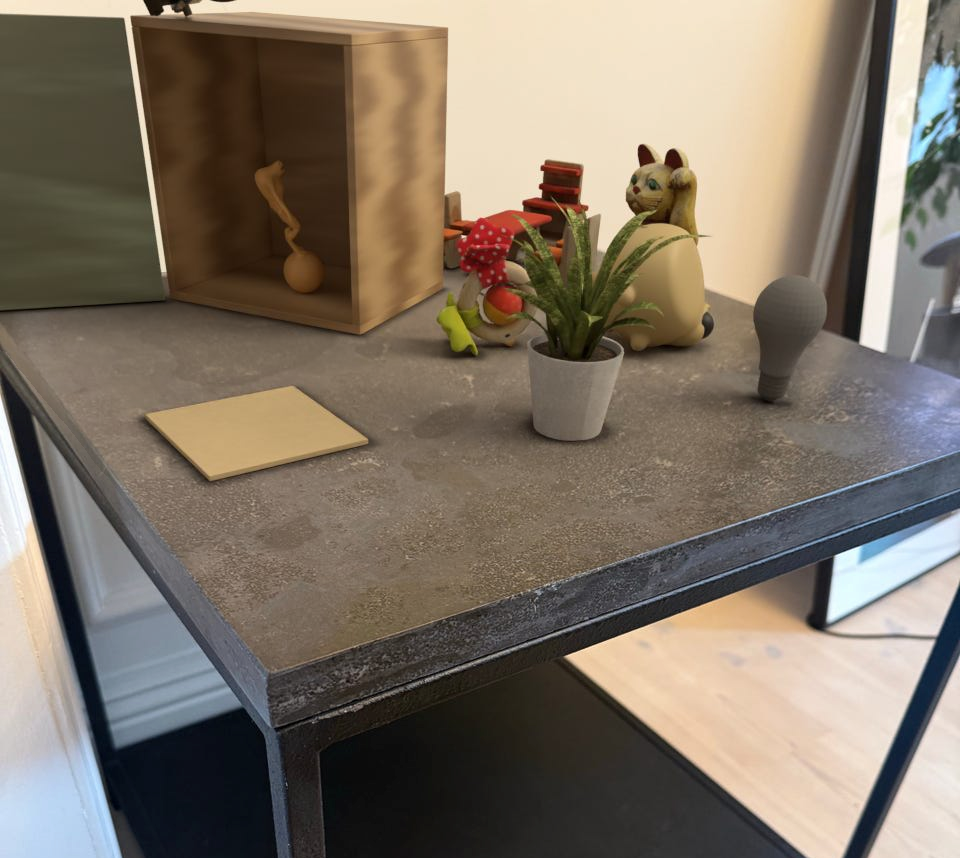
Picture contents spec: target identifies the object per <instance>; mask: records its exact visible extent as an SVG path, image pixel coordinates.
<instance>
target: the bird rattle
mask: <svg viewBox="0 0 960 858" xmlns="http://www.w3.org/2000/svg"><path fill="white" fill-rule="evenodd" d="M484 218H485V217H479V218H478V219H477V220H475V221H476V222H475V224H474V226H473V228H472V231H471V233H470V234H469V235H468V236H464V237H462V239H459V240H458V241H457V246H456V248H457V251H458V253H459V254H460V256H461V257H462V258H461V261H460V266H459V267H460V270H461V271H462V272H464V273H467V274H468V275H467V277H466V278H465V280H464V282H463V283H462V286H461V288H460V289H459V293H458V298H457V301H456V302H455V298H454V293H453V292H452V291H450V292H449V293H448V294H447V298H446V301H445V305H446V306H445V307H444V308H443V309H441V311H440V312H439V314H438V315H437V317H436V322H437V323H438V325H440V326H441V329H442V331H444V332H445V333H446V336H447V337H448V339H449V342H450V348H451V350H452V351H453V352H455V353H460V352H462V351H464V350H465V349H466V348H467V347H468V349H469V350H470V352H471V353H472V355H473V356H474V357H477V356H478V353H479V350H478V348H477V346H476V344H475V342H474V340H473V338H472V336H471V334H472V335H474V336H475V337H477V338H479V339H481V340H484V341H487V342H491V343H493V342H494V343H502V344H504V345H505V346H508V347H512V346H513V345H514V344H515V341H516V339H517V337H518V336H519V335H521V334H522V333H523V332H524V331H525V330H526V329H527V328H528V326H529V325H530V324H531V322H532V321H531V320H527V319H522V318H512V317H510V318H508V317H509V316H510V315H512V314H514V313H516V312H525V313H527V314H529V315H531V316H532V317H533V318H535V315H536V312H537V309H538V308H537V307H535V306H533V305H531V304H530V303H528V302H527V301H525V300H524V299H523V298H521V297H520V296H518V295H516V294H513V293H510V292H508V291H507V290H505V289H504V288H509V289H516V290H517V288H518V287H517V284H523V283H525V282H528V281H530V279H529V277H528V275H527V272H526V269H525V267H522V266H521V265H520V264H518V263H516V262H515V261H511V260H506V256H507V255H508V253H509V249H510V246H511V244H512V241H513V240H512V239H513V238H514V232H513V231H512V230H511V229H510V228H508V227H496V226H494V225H492V224H491V223H490V222H488V221H487V220H486V219H484ZM502 235H504V236H502ZM505 236H507V237H505ZM508 237H509V238H508ZM510 238H512V239H510ZM470 272H471V273H470ZM486 289H487V290H486ZM482 290H486V292H485V293H483V292H482ZM518 290H521V291H524V292H527V293H530V294H532V295H535V296H537V294H536V291H535V289H534V288H532V287H530V286H528V285H525V284H523V285H521V286H520V287H519V288H518ZM479 295H480V296H482V297H483V300H482V312H483V314H484V316H485V317H486V319H487V320H488V321H489V322H488V321H486V320H484V318H483V317H482V315H481V313H480V304H479V301H478V300H477V299H478V296H479ZM537 297H538V296H537ZM507 318H508V319H507ZM470 333H471V334H470Z"/></svg>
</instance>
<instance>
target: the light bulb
mask: <svg viewBox="0 0 960 858" xmlns="http://www.w3.org/2000/svg"><path fill="white" fill-rule="evenodd" d="M825 295H826V294H825V293H824V292H823V290H822V288H821V287H820V286H819V284H817V283H816V282H815V281H814V280H813V279H811V278H809V277H807V276H803V275H798V274H793V275H791V274H790V275H785V276H782V277H778V278H776V279H775V280H772V281H771V282H770V283H769V284H767V285H766V286H765V287H764V289H762V291H761V292H760V293H759V295H758V296H757V298H756V301H755V303H754V306H753V312H752V313H753V314H752V315H753V318H752V319H753V320H752V321H753V325H754V329H755V333H756V336H757V339H758V344H759V363H758V364H759V365H758V370H759V372H760V373H759V377H758V382H757V384H758V385H757V389H756V391H757V393H758V394H759V395H760V397H762V398H763V400H765V401H766V402H775V401H776V400H777V399H778V400H779V399H781V398H784V396H785V395H786V392H787V390H788V387H789V382H790V381H791V380H790V379H791V376H793V375H794V373H795V371H796V368H797V365H798V362H799V361H800V358H801V356H802V354H803V353H804V351H805V350H806V349H807V347H808V346H809V345H810V344H811V343H812V342H813V340H814V339H816V337H817V336H818V334H819V333H820V332H821V331H822V329H823V327H824V325H825V323H826V319H827V316H828V304H827V299H826V296H825Z"/></svg>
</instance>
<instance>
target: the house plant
mask: <svg viewBox="0 0 960 858" xmlns="http://www.w3.org/2000/svg"><path fill="white" fill-rule="evenodd" d="M552 199H553V198H552ZM553 200H554V199H553ZM554 201H555V200H554ZM578 201H579V200H578ZM555 203H556V204H557V205H558V207H559V208H560V209H561V211H562V212H563V213H564V215H565V216H566V218H567V219H568V221H569V223H570V225H571V228H572V231H573V235H574V238H575V243H576V251H575V256H574V257H572V258H571V260H570V262H569V265H568V269H567V280H568V288H569V290H568V291H567V290H566V289H565V286H564V284H563V280H562V277H561V274H560V271H559V268H558V266H557V263H556V260H555V258H554V256H553V254H552V252H551V250H550V248H549V247H548V245H547V243H546V242H545V240H544V239H543V238H542V237H541V235H540V234H539V233H538V232H537V231H536V230H535V229H534V228H533V227H532V226H531V225H530V224H529V223H528V222H527V221H525V220H524V219H523V218H521V217H519V216H517V215H515V214H512V213H511V212H510V213H511V214H512V215H513V216H514V217H515V218H517V219H518V220H519V222H520V223H521V224H522V225H523V227H524V228H525V229H526V231H527V232H528V234H529V235H530V237H531V239H532V241H533V242H534V244H535V246H536V248H537V250H538V252H539V254H540V257H541V259H542V262H543V264H544V265H543V264H542V262H541V261H540V260H539V259H538V258H537V256H536V255H535V253H534V250H533V248H532V246H531V245H530V244H529V243H527V242H526V241H524V240H523V241H524V245H523V244H522V243H520V242H518V241H516V240H514V239H512V238H510V239H512V240H514V241H516V242H517V243H519V244H520V246H521V248H522V249H523V251H524V253H525V255H524V269H525V270H526V272H527V275H528V277H529V279H530V281H528V282H525V283H523V284H525V285H528V286H530V287H532V288H534V289H535V291H536V294H537V296H538V297H537V296H535V295H532V294H530V293H527V292H524V291H521V290H518V288H519V287H520V286H521V285H523V284H517V287H518V288H517V287H516V288H517V290H516V289H509V288H504V289H505V290H507V291H508V292H510V293H513V294H516V295H518V296H520V297H521V298H523V299H524V300H525V301H527V302H528V303H530V304H531V305H533V306H535V307H537V309H538V310H540V311H541V312H543V313H544V314H545V321H546V328H545V327H544V326H542V324H541V323H540V322H539V321H538V320H537V319H536V318H535V317H532V316H531V315H529V314H527V313H525V312H516V313H514V314H512V315H510V316H509V317H508V318H510V317H512V318H522V319H527V320H531V322H534V324H536V325H538V326H539V327H540V328H541V329H542V330H543V333H538V334H537V335H535V336H532V337H530V339H529V340H528V341H527V345H526V346H527V347H526V348H527V358H528V359H527V360H528V371H529V383H530V397H531V398H530V399H531V409H532V420H533V421H532V423H533V428H534V430H535V431H536V432H538V433H539V434H540V435H542V436H544V437H547V438H550V439H554V440H559V441H566V442H567V441H569V442H570V441H572V442H573V441H586V440H592V439H594V438H596V437H597V436H599V435H600V433H601V432H602V430H603V429H602V428H603V425H604V422H605V419H606V415H607V411H608V408H609V405H610V401H611V398H612V395H613V391H614V388H615V385H616V382H617V378H618V376H619V371H620V369H621V365H622V361H623V358H624V356H625V355H624V354H625V349H624V347H623V346H622V345H621V344H620V343H619V342H618V341H615V340H614V339H612V338H610V337H607V336H604V335H605V334H606V332H607V330H608V329H610V328H614V327H618V326H625V325H646V326H649V327H652V328H654V327H653V326H652V325H651V324H650V323H649V322H648V321H647V320H644V319H641V318H636V317H631V318H624V319H621V320H618V321H616V320H617V319H618V318H620V317H621V316H622V315H624V314H625V313H627V312H630V311H633V310H637V309H645V308H647V309H654V310H658V311H659V312H660V313H661V314H662V312H661V310H660V309H659V307H658V306H657V305H655V304H654V303H651V302H640V303H636V304H634V305H631V306H629V307H627V308H626V309H624V310H623V311H622V312H620V313H619V314H618V315H617V316H616V317H615V318H614V320H613V321H612V322H611V323H610V324H609V325H607V326H606V327H604V326H605V323H606V321H607V319H608V317H609V314H610V312H611V310H612V309H613V307H614V305H615V304H616V302H617V301H618V299H619V298H620V296H621V295H622V294H623V293H624V291H625V290H626V289H627V288H628V287H629V286H630V284H631V283H632V282H633V280H634V279H635V278H637V277H639V276H641V275H643V274H644V273H641V274H635V275H632V274H633V273H634V272H635V271H636V269H637V268H638V267H639V266H640V265H641V264H642V263H643V262H644V261H645V260H646V259H648V258H649V257H650V256H651V255H652V254H653V253H655V252H656V251H658V250H660V249H661V248H663V247H665V246H666V245H668V244H671V243H673V242H675V241H677V240H681V239H684V238H695V237H698V238H708V237H709V238H710V237H713V235H707V234H706V235H705V234H698V235H694V234H692V235H680V236H676V237H673V238H670V239H667V240H665V241H663V242H662V243H660V244H658V245H656V246H655V247H654V248H653V249H651V250H650V251H649V252H648V253H647V254H646V255H645V256H643V257H641V256H642V255H643V254H644V253H645V252H646V251H647V250H648V249H649V247H650V246H651V245H652V244H653V243H654V242H655V241H657V240H659V239H662V238H663V237H654V238H651V239H649V240H647V241H646V242H644V243H642V244H639V245H638V246H637V247H636V248H635V249H634V250H633V251H632V252H631V253H630V254H629V255H628V257H626V258H625V259H624V260H623V261H622V262H621V263H620V264H619V266H618V267H617V268H616V269H615V271H614V272H613V274H612V276H611V277H610V279H609V281H608V278H609V276H610V273H611V270H612V267H613V265H614V263H615V262H616V260H617V258H618V256H619V254H620V252H621V251H622V249H623V247H624V245H625V244H626V243H627V241H628V240H629V238H630V237H631V235H632V234H633V233H634V232H635V231H636V229H638V228H646V227H643V226H640V224H641V223H642V221H643V220H644V219H645V218H646V217H647V216H649V215H651V214H653V213H654V212H656V211H657V210H652V211H647V212H643V213H641V214H638V215H636V216H633V217H632V218H631V219H629V220H628V221H627V222H626V223H625V224H624V225H623V226H622V227H621V228H620V230H619V231H618V232H617V233H616V235H615V236H614V237H613V239H612V240H611V242H610V243H609V245H608V247H607V249H606V251H605V254H604V256H605V257H604V256H603V258H604V260H603V259H602V260H603V263H602V265H601V264H600V265H601V268H600V267H599V268H600V270H599V273H598V275H597V277H596V280H595V283H594V285H593V288H592V271H591V243H590V236H589V227H588V221H587V219H588V217H587V213H586V211H584V208H583V206H582V205H583V204H582V203H581V200H580V201H579V203H580V206H581V209H582V213H583V217H584V221H583V220H582V219H581V218H580V217H579V216H578V215H577V214H576V212H575V211H574V210H573V209H572V208H570V207H568V206H567V205H566V208H567V212H568V214H569V216H570V219H571V220H570V219H569V217H568V216H567V214H566V213H565V212H564V210H563V209H562V208H561V207H560V206H559V204H558V203H557V202H556V201H555ZM581 204H582V205H581ZM502 236H504V235H502ZM505 237H507V236H505ZM508 238H509V237H508ZM627 261H628V262H627ZM626 262H627V263H626ZM625 263H626V265H625V266H624V264H625ZM623 266H624V268H623V270H622V271H621V272H619V270H620V269H621V268H622V267H623ZM618 272H619V273H618ZM617 273H618V274H617ZM631 275H632V276H631ZM607 281H608V283H607ZM606 283H607V285H606ZM662 315H663V314H662ZM508 318H507V319H508Z"/></svg>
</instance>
